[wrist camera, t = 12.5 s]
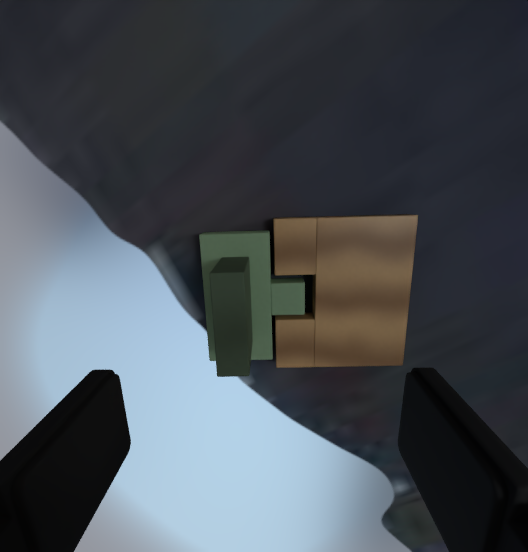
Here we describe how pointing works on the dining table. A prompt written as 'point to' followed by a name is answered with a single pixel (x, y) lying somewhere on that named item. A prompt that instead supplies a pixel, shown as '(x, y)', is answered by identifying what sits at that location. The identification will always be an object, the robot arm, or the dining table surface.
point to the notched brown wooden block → (346, 289)
